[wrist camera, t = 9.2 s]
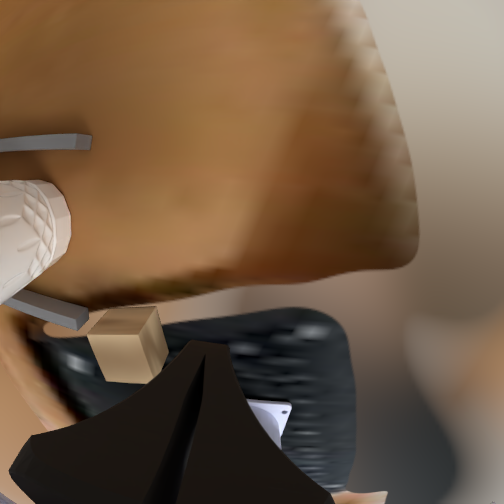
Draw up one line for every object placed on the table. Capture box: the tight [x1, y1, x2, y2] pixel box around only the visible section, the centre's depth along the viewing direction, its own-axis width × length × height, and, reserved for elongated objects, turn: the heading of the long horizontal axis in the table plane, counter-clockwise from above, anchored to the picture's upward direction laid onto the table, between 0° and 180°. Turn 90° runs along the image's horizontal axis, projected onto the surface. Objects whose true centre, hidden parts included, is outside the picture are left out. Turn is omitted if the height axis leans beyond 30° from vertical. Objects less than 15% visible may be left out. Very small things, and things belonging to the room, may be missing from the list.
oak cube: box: [87, 306, 169, 384], centre depth 18 cm, size 4×4×4 cm
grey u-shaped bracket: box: [0, 133, 92, 331], centre depth 17 cm, size 14×13×2 cm
